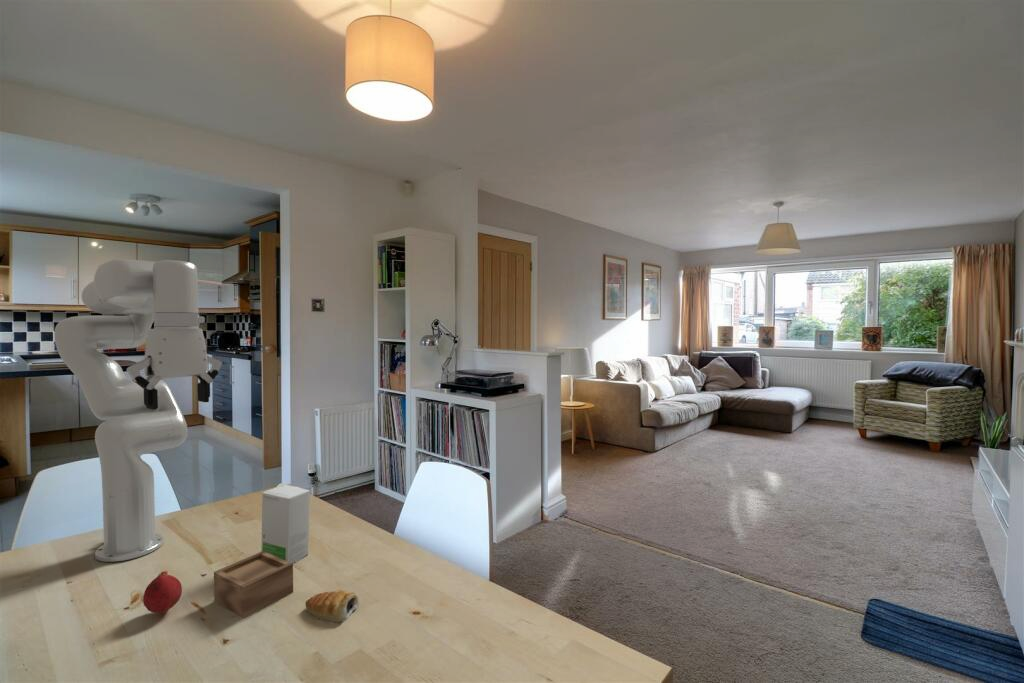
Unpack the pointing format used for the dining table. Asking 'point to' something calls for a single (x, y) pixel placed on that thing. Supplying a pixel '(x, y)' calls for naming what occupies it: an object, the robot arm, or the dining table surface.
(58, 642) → the dining table surface
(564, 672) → the dining table surface
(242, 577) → the wooden crate
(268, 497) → the skincare box
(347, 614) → the pastry
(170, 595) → the onion
